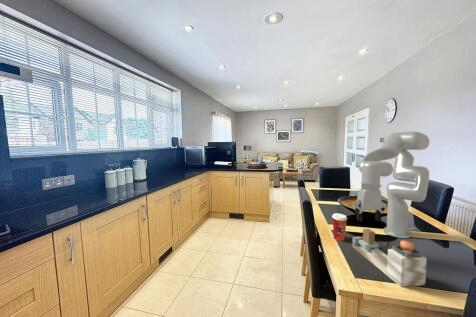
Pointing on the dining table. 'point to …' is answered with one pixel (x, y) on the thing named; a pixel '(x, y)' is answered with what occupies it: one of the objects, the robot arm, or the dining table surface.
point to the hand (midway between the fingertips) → (368, 220)
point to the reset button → (407, 245)
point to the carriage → (368, 240)
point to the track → (397, 263)
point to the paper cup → (339, 226)
